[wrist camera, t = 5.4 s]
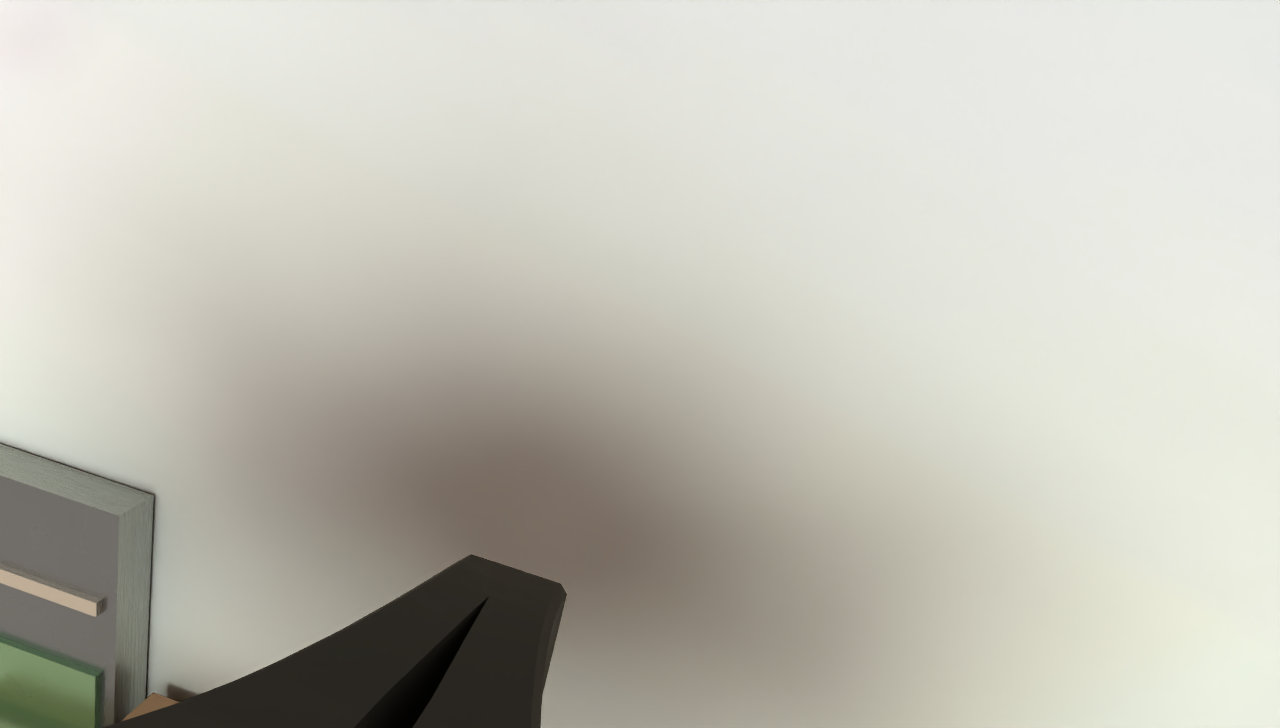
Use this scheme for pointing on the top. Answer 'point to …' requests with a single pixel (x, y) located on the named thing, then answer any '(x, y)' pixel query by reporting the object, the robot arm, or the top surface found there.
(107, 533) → the gauge frame
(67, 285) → the top surface
